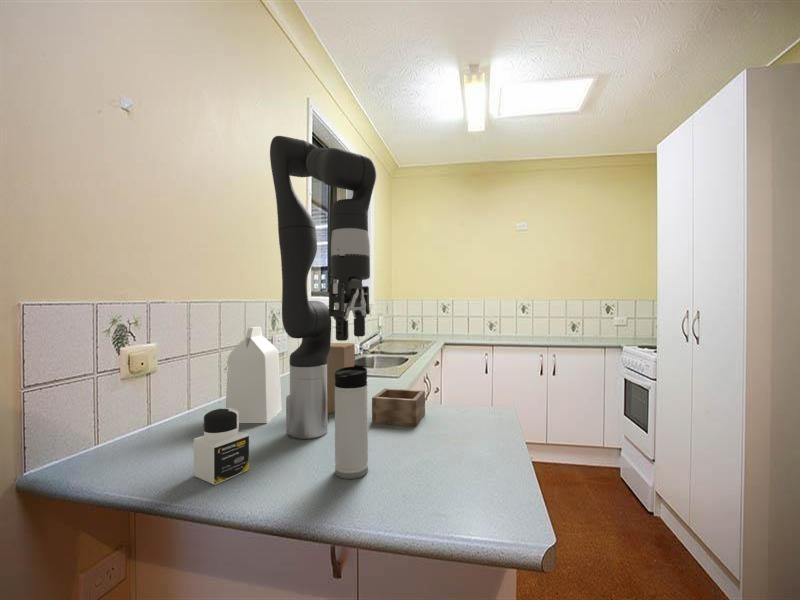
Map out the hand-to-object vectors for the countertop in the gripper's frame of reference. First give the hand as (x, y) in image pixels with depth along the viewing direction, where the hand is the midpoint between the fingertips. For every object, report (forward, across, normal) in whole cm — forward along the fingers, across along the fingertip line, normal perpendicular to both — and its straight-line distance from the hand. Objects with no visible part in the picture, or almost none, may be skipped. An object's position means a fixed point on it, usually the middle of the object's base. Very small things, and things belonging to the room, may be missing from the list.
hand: (351, 338), depth 70 cm
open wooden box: (+26, -34, 0) cm, 42 cm away
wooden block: (+26, -38, -22) cm, 51 cm away
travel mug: (+26, 0, 0) cm, 26 cm away
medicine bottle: (+26, +7, -24) cm, 36 cm away
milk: (+26, -25, -41) cm, 55 cm away
